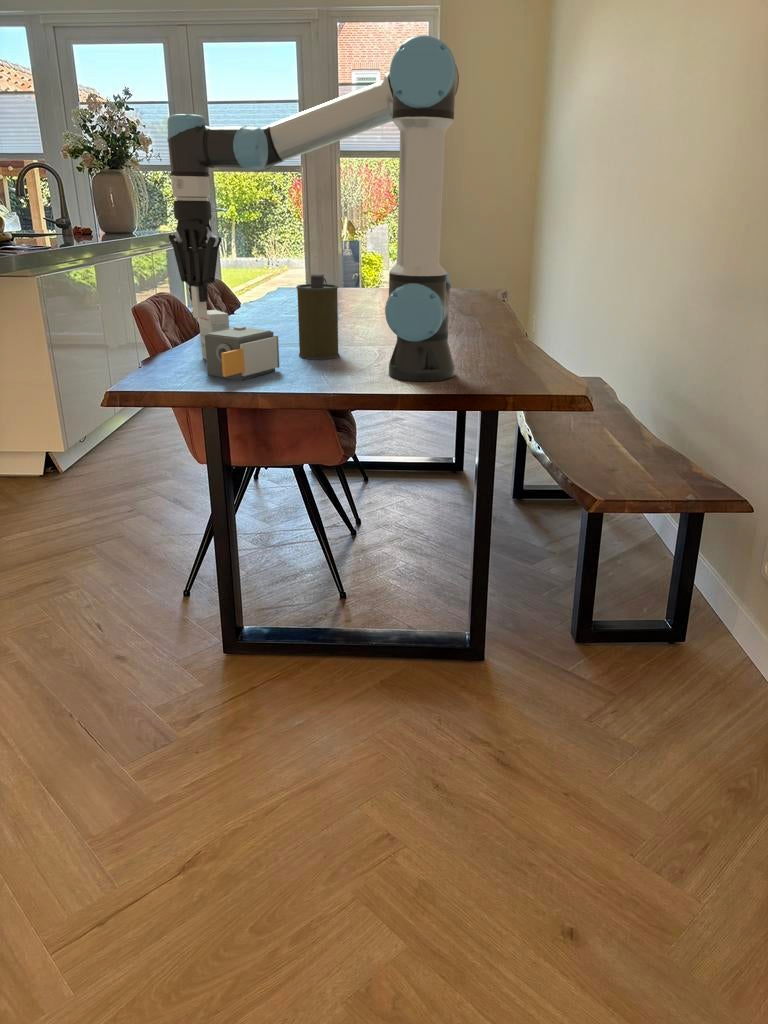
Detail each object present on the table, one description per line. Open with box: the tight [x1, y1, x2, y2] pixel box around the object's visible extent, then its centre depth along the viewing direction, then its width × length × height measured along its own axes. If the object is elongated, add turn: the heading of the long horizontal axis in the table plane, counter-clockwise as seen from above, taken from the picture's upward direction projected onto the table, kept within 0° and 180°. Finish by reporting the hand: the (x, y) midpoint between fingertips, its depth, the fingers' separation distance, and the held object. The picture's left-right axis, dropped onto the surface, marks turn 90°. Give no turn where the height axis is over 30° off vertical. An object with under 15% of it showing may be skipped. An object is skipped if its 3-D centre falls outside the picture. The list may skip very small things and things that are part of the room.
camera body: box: [205, 325, 276, 381], centre depth 175 cm, size 10×13×10 cm
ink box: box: [198, 309, 230, 361], centre depth 188 cm, size 9×5×12 cm, turn 33°
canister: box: [296, 273, 340, 361], centre depth 193 cm, size 11×10×20 cm
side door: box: [221, 335, 280, 378], centre depth 170 cm, size 1×18×7 cm, turn 148°
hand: (200, 316), depth 165 cm, fingers closed
